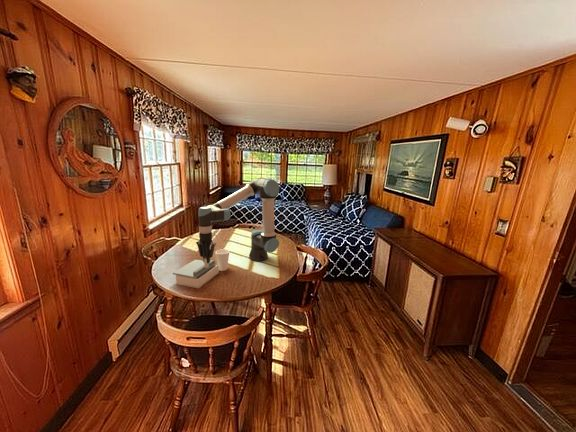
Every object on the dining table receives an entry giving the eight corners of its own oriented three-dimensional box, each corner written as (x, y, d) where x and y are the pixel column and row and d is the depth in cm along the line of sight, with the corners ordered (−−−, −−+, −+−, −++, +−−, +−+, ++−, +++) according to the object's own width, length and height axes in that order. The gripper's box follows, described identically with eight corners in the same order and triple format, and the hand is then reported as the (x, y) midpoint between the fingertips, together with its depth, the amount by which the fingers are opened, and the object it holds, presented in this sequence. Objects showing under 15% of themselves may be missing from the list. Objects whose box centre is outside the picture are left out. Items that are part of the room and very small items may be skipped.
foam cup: (213, 270, 169) (212, 252, 166) (221, 265, 177) (220, 248, 175) (224, 272, 166) (224, 255, 163) (232, 267, 174) (231, 250, 171)
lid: (215, 264, 164) (215, 259, 163) (195, 278, 143) (194, 273, 142) (195, 260, 168) (195, 256, 167) (172, 274, 147) (172, 269, 147)
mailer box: (218, 273, 165) (218, 265, 163) (198, 288, 144) (198, 279, 143) (198, 269, 169) (198, 261, 168) (176, 284, 148) (175, 275, 147)
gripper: (218, 231, 149) (219, 266, 155) (200, 229, 153) (201, 263, 158) (211, 234, 142) (212, 271, 148) (192, 232, 146) (194, 268, 151)
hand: (206, 267), depth 153 cm, fingers closed
